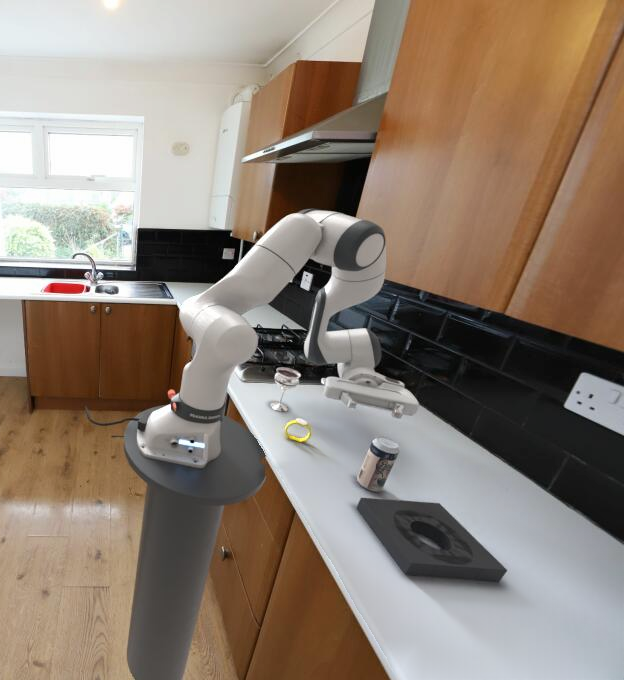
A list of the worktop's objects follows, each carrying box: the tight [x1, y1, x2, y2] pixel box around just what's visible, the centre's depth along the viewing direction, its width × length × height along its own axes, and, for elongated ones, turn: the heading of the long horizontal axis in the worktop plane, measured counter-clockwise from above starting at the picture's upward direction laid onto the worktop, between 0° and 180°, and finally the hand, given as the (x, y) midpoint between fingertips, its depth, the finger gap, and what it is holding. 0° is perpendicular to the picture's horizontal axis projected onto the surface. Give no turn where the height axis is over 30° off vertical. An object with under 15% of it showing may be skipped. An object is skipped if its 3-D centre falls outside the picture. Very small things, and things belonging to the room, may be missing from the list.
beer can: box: [356, 436, 400, 493], centre depth 77 cm, size 5×5×12 cm
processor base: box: [356, 497, 508, 583], centre depth 66 cm, size 16×14×3 cm
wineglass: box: [269, 366, 302, 412], centre depth 106 cm, size 7×7×12 cm
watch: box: [284, 417, 312, 443], centre depth 92 cm, size 6×3×6 cm, turn 65°
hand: (374, 410), depth 85 cm, fingers open, 8 cm apart
